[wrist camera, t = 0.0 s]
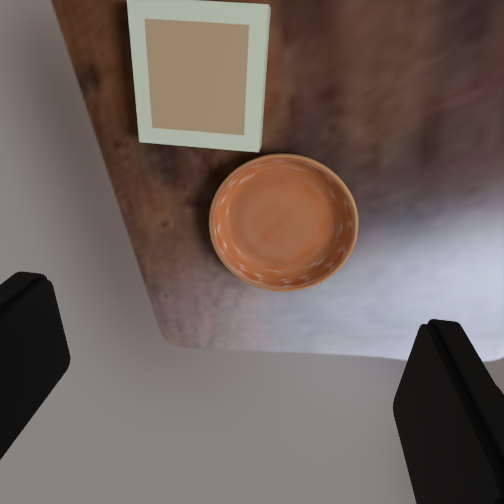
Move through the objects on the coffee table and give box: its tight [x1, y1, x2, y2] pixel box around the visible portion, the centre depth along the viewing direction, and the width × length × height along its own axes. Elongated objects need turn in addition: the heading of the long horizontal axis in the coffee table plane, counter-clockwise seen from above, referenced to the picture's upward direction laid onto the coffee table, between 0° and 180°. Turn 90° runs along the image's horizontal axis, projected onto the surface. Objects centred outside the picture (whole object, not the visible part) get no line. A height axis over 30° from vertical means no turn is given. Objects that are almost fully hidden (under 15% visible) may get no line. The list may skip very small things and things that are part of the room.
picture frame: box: [127, 0, 271, 152], centre depth 34 cm, size 12×12×3 cm
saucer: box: [209, 153, 358, 292], centre depth 40 cm, size 16×16×3 cm
